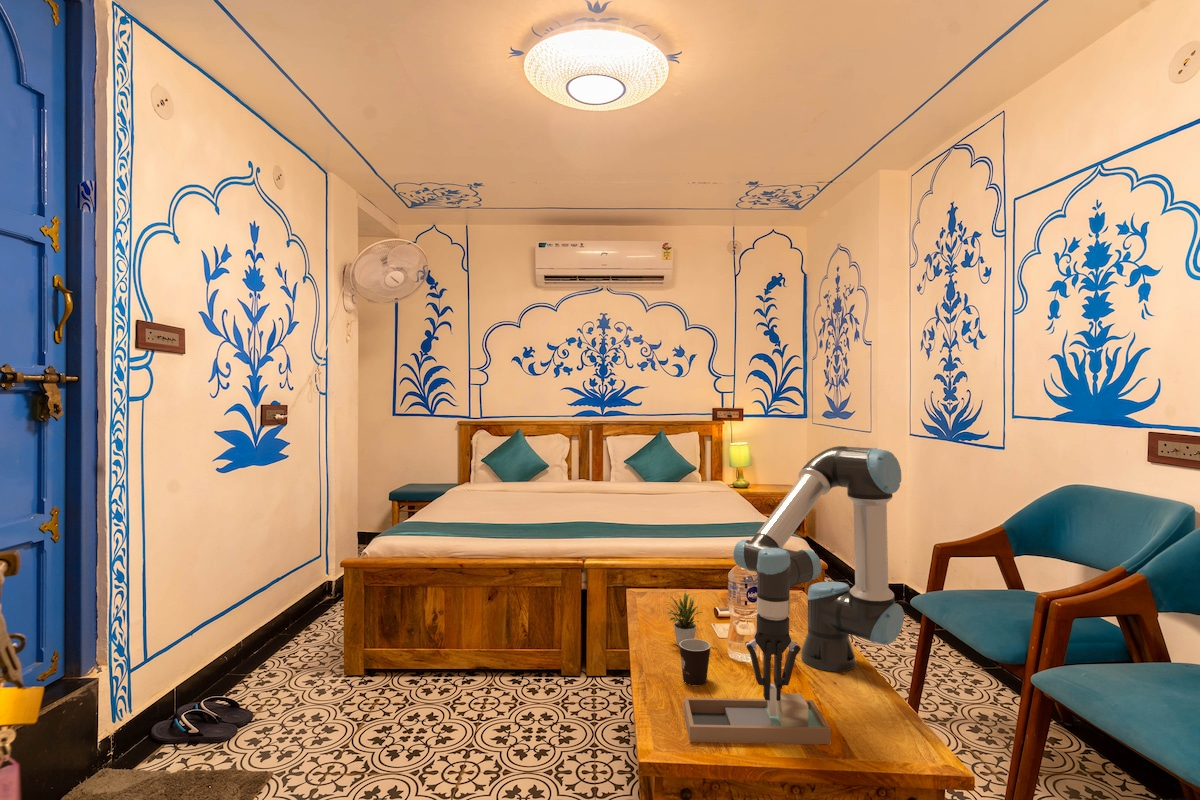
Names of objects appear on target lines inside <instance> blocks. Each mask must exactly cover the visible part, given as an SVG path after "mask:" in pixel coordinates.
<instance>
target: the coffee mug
mask: <svg viewBox="0 0 1200 800" xmlns="http://www.w3.org/2000/svg"><path fill="white" fill-rule="evenodd" d="M679 646H680V647H679ZM679 646H678V647H679V653H680V662H681V663H680V665H681V673H682V681H683V680H684V681H683V683H685V682H686V683H687V684H686V683H685V684H686V685H688V684H690V685H689V686H692V685H700V686H704V685H705V684H706V683H707V679H708V670H709V664H710V663H709V662H710V655H711V643H710V642H708V641H706V640H703V639H699V638H694V639H686V640H683V641H681V642H680V643H679ZM703 684H704V685H703Z"/></svg>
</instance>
